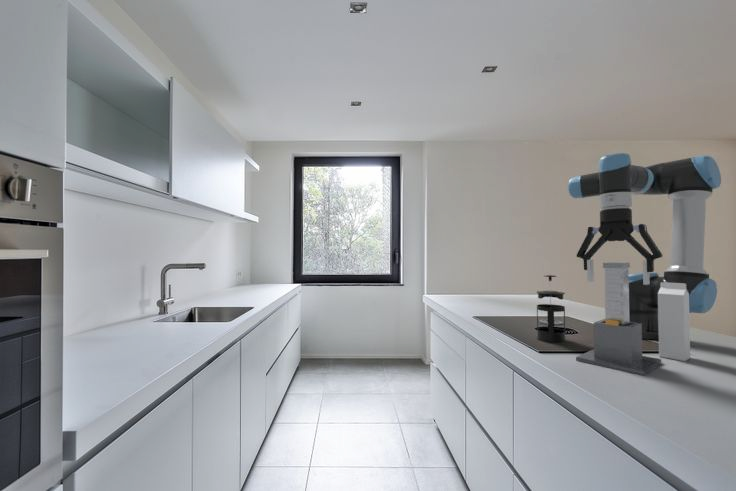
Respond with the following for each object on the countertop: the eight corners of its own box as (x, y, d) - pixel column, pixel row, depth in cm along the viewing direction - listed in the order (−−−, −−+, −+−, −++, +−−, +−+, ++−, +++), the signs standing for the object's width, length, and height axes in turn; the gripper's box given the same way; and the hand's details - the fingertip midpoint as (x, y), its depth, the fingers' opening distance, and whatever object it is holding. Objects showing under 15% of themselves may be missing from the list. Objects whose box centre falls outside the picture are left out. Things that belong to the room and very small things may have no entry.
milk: (685, 361, 101) (683, 284, 101) (658, 356, 106) (657, 282, 106) (690, 357, 105) (689, 282, 105) (664, 352, 109) (663, 281, 110)
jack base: (597, 350, 112) (596, 312, 112) (661, 362, 100) (660, 319, 100) (576, 360, 102) (575, 318, 102) (644, 375, 90) (643, 326, 90)
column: (612, 331, 105) (611, 262, 105) (631, 333, 102) (629, 262, 102) (604, 334, 101) (602, 262, 101) (622, 337, 97) (621, 263, 98)
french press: (567, 344, 120) (566, 276, 120) (536, 341, 124) (535, 275, 124) (564, 337, 130) (563, 274, 131) (536, 334, 135) (535, 273, 135)
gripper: (563, 212, 109) (565, 281, 109) (667, 202, 90) (669, 286, 89) (574, 213, 114) (575, 279, 114) (675, 205, 94) (677, 284, 94)
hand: (617, 283), depth 101 cm, fingers open, 13 cm apart
